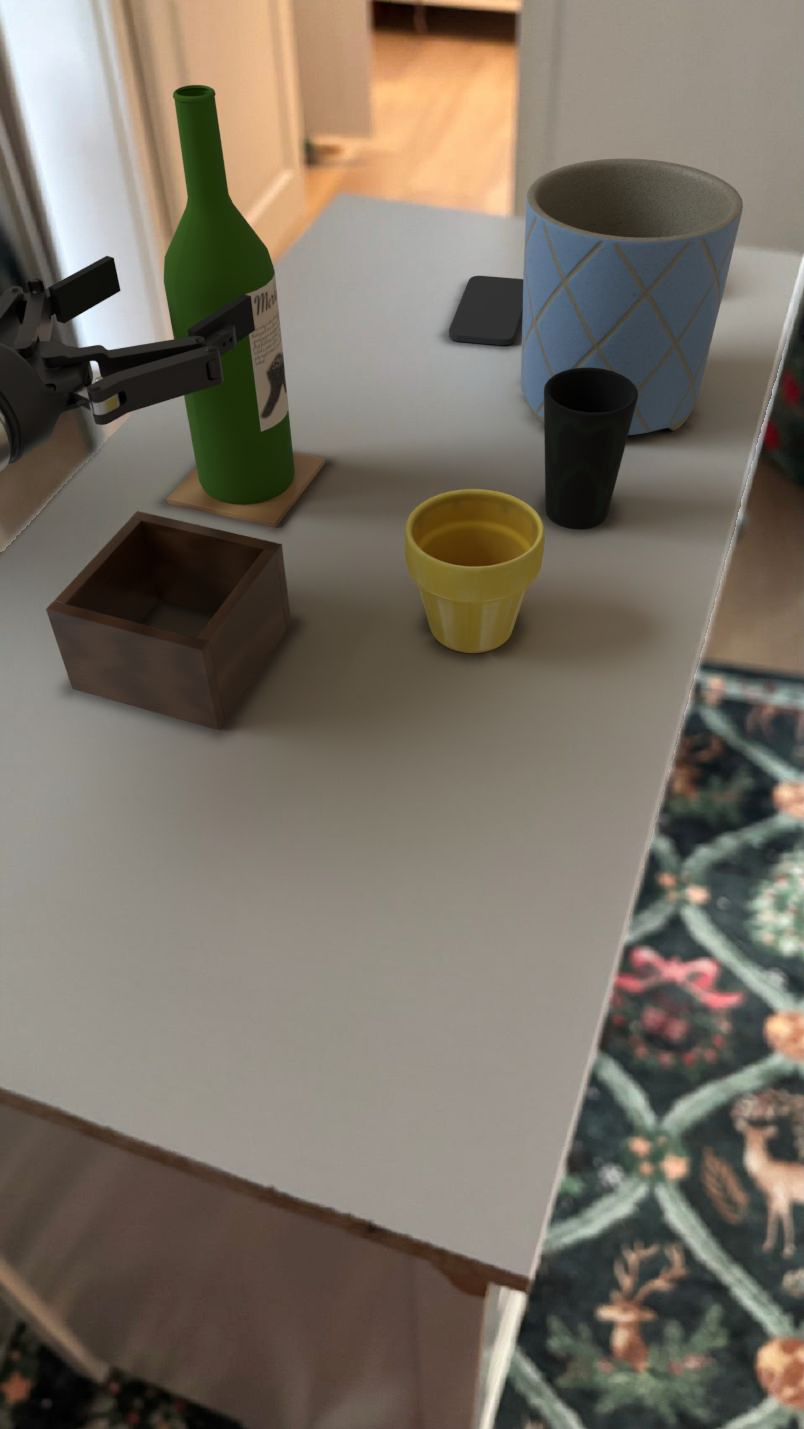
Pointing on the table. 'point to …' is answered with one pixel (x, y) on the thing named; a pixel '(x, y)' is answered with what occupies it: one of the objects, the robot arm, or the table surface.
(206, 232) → the wine bottle
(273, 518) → the cork mat
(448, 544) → the flower pot
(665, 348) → the planter
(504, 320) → the phone
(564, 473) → the cup
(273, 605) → the holder
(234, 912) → the table surface
